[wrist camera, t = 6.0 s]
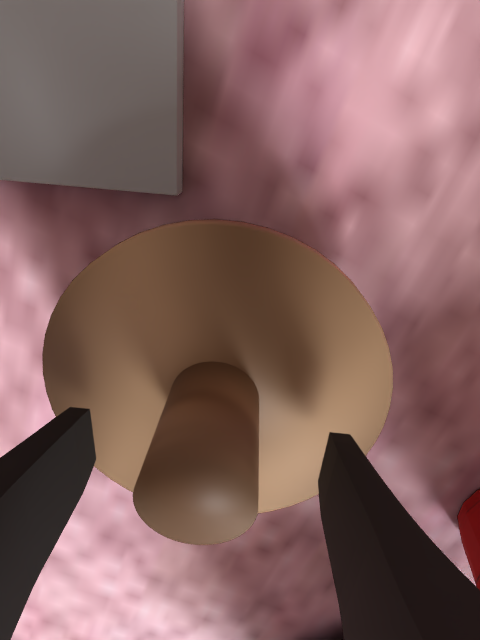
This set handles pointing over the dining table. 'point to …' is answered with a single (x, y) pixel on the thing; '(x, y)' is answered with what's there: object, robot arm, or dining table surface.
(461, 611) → the robot arm
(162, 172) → the mat
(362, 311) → the lid
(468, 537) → the plastic cup
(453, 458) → the dining table surface
